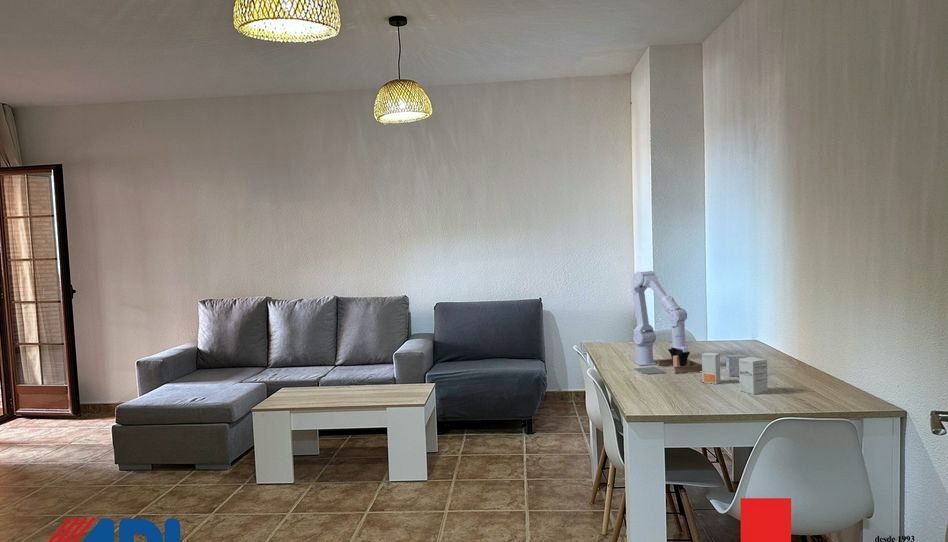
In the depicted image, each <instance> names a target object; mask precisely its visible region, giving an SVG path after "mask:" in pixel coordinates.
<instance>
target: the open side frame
mask: <svg viewBox="0 0 948 542" xmlns="http://www.w3.org/2000/svg"><path fill="white" fill-rule="evenodd" d="M657 361H658V364H657V365H658V367H659V366H664V367H671V366H670V365H673V361H672V358H669V359H658V360H657ZM673 370H674V374H675V373H682V374H689V373H688V372H696V373H701V372H700V371H702V363H699V362H696V361H693V360H691V359H688V358H687V361H686V366H678V367H674V369H673Z"/></svg>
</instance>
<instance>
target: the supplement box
mask: <svg viewBox="0 0 948 542" xmlns="http://www.w3.org/2000/svg"><path fill="white" fill-rule="evenodd" d="M747 357H748V358H741V359H739V380H738V381H739V391H740V392H744V393H747V394H752V395H759V394H765V393H768V388H769V387H768V359H765V358H759V357H754V356H747Z"/></svg>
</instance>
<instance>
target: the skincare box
mask: <svg viewBox="0 0 948 542" xmlns="http://www.w3.org/2000/svg"><path fill="white" fill-rule="evenodd" d="M701 364H702V372H701V373H702V376H701V377H702V383H703V382H704V383H706V384H711V383H712V385H718V384H720V383H721V354H720V353H716V352H704V353H703V352H702V353H701Z"/></svg>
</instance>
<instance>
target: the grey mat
mask: <svg viewBox="0 0 948 542" xmlns="http://www.w3.org/2000/svg"><path fill="white" fill-rule="evenodd" d="M634 369H635V370H634ZM633 370H634V371H636V370H637V371H636V372H638V371H639V372H638V373H640V372H641V374H642V373H643V374H642V375H644V374H648V375H655V374H654V373H662V374H666V373H665V372H666V371H665V370H662V369H660V368H658V367H656V366H649V367H636V368H633Z"/></svg>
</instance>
